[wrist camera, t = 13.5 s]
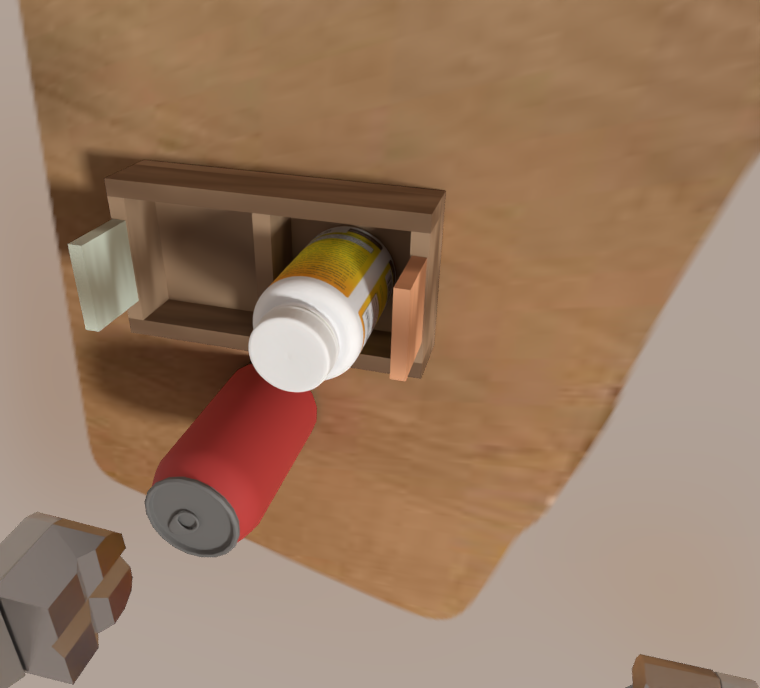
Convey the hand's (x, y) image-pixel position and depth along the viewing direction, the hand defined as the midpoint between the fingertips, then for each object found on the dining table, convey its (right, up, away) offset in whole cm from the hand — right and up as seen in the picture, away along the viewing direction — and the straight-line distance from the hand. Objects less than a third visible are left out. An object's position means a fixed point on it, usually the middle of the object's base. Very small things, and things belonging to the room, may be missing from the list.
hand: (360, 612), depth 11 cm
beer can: (-7, 0, +37) cm, 37 cm away
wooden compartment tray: (-5, +10, +31) cm, 33 cm away
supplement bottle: (-1, +9, +29) cm, 30 cm away
